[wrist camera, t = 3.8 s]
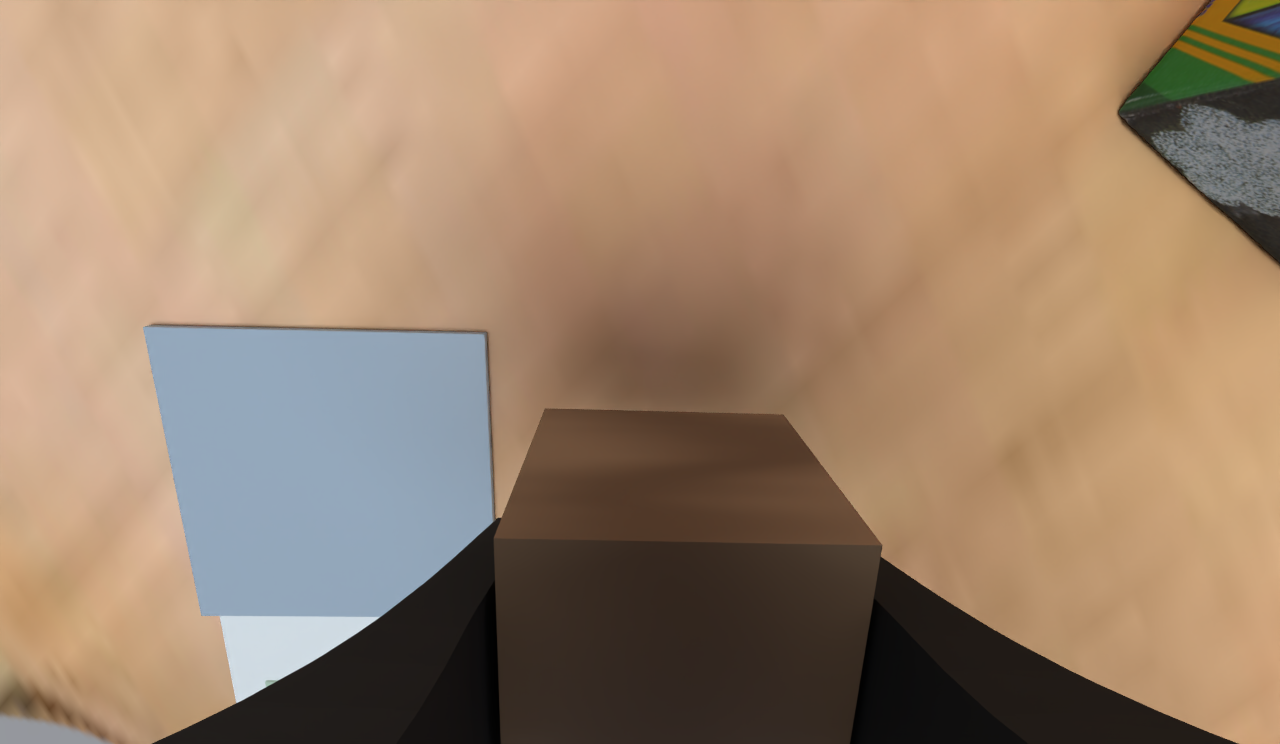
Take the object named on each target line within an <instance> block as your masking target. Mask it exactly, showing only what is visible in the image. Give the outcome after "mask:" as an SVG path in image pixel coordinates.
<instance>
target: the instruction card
mask: <svg viewBox="0 0 1280 744" xmlns="http://www.w3.org/2000/svg"><path fill="white" fill-rule="evenodd" d="M378 618H380V617H319V616H220V620H221V625H222V630H223V636H224V641H225V646H226V651H227V656H228V662H229V667H230V672H231V677H232V682H233V688H234V693H235V698H236V703H238V702H240V701H242V700H244V699H246V698H247V697H249V696H251V695H253V694H255V693H256V692H258V691H260V690H262V689H264V688H266V687H267V686H269V685H271V684H273V683H275V682H276V681H278V680H280V679H282V678H284V677H285V676H287V675H289V674H291V673H293V672H294V671H296V670H298V669H300V668H302V667H303V666H305V665H307V664H309V663H311V662H312V661H314V660H316V659H317V658H319V657H321V656H322V655H324V654H325V653H327V652H329V651H330V650H332V649H333V648H335V647H336V646H338V645H339V644H341V643H343V642H344V641H346V640H347V639H349V638H350V637H352V636H353V635H355V634H357V633H358V632H359V631H361V630H362V629H364V628H365V627H367V626H368V625H370V624H371V623H373V622H374V621H375V620H377V619H378Z"/></svg>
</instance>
